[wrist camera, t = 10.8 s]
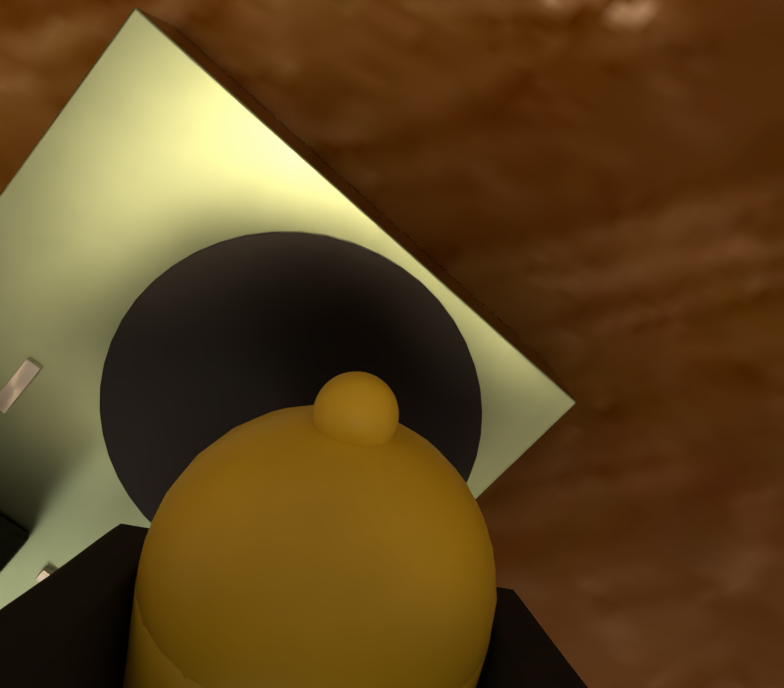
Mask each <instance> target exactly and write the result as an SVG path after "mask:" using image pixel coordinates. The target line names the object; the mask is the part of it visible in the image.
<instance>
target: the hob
mask: <svg viewBox="0 0 784 688" xmlns="http://www.w3.org/2000/svg"><path fill="white" fill-rule="evenodd" d="M270 231H302V232H309V233H316V234H324V235H329V236H333V237H336V238H340V239H343V240H347V241H351V242H354V243H356V244H359V245H361V246H363V247H366V248H368V249H371V250H373V251H375V252H378V253H379V254H381V255H383V256H385V257H386V258H388V259H390V260H391V261H393V262H395V263H397V264H398V265H400V266H401V267H403V268H404V269H405V270H407V271H408V272H409V273H410V274H412V275H413V276H414V277H416V278H417V279H418V280H419V281H421V282H422V283H423V284H424V285H425V286H426V287H427V288H428V289H429V290H430V291H431V292H432V293H433V294H434V295H435V296H436V297H437V298H438V299H439V301H440V302H441V303H442V305H443V306H444V307H445V309H446V310H447V311H448V313H449V314H450V315H451V317H452V318H453V319H454V321H455V323H456V325H457V326H458V328H459V330H460V332H461V334H462V335H463V337H464V339H465V341H466V343H467V346H468V348H469V351H470V354H471V356H472V359H473V361H474V364H475V367H476V372H477V376H478V380H479V385H480V390H481V401H482V427H481V437H480V442H479V447H478V452H477V457H476V460H475V463H474V465H473V468H472V471H471V474H470V477H469V479H468V481H467V483H466V484H467V486H468V488H469V489H470V491H471V493H472V495H473V497H474V498H475V500H476V499H477V498H478V497H479V496H480V495H481V494H482V493H483V492H484V491H485V490H486V489H487V488H488V487H489V486H490V485H491V484H492V483H493V482H494V481H495V480H496V479H497V478H499V477H500V476H501V475H502V474H503V473H504V472H505V471H506V470H507V469H508V468H509V467H510V466H511V465H512V464H513V463H514V462H515V461H516V460H517V459H518V458H519V457H520V456H521V455H523V454H524V453H525V452H526V451H527V450H528V449H529V448H530V447H531V446H532V445H533V444H534V443H535V442H536V441H537V440H538V439H539V438H540V437H541V436H542V435H543V434H544V433H545V432H547V431H548V430H549V429H550V428H551V427H552V426H553V425H554V424H555V423H556V422H557V421H558V420H559V419H560V418H561V417H562V416H563V415H564V414H565V413H566V412H567V411H568V410H569V409H571V408H572V407H573V406H574V405H575V404H576V401H575V399H574V398H573V396H572V395H571V394H570V392H569V391H568V390H567V388H566V387H565V385H564V384H563V383H562V381H561V380H560V379H559V377H558V376H557V374H556V373H555V372H554V370H553V369H552V368H551V366H550V365H549V364H547V363H546V362H545V361H544V360H543V359H542V358H541V357H540V356H539V355H537V354H536V353H535V352H534V351H533V350H532V349H531V348H530V347H529V346H527V345H526V344H525V343H524V342H523V341H522V340H521V339H520V338H519V337H517V336H516V335H515V334H514V333H513V332H512V331H511V330H510V329H509V328H507V327H506V326H505V325H504V324H503V323H502V322H501V321H500V320H499V319H498V318H496V317H495V316H494V315H493V314H492V313H491V312H490V311H489V310H488V309H486V308H485V307H484V306H483V305H482V304H481V303H480V302H479V301H478V300H476V299H475V298H474V297H473V296H472V295H471V294H470V293H469V292H468V291H466V290H465V289H464V288H463V287H462V286H461V285H460V284H459V283H458V282H456V281H455V280H454V279H453V278H452V277H451V276H450V275H449V274H448V273H447V272H445V271H444V270H443V269H442V268H441V267H440V266H439V265H438V264H437V263H435V262H434V261H433V260H432V259H431V258H430V257H429V256H428V255H427V254H425V253H424V252H423V251H422V250H421V249H420V248H419V247H418V246H417V245H415V244H414V243H413V242H412V241H411V240H410V239H409V238H408V237H407V236H405V235H404V234H403V233H402V232H401V231H400V230H399V229H398V228H397V227H395V226H394V225H393V224H392V223H391V222H390V221H389V220H388V219H387V218H386V217H384V216H383V215H382V214H381V213H380V212H379V211H378V210H377V209H376V208H374V207H373V206H372V205H371V204H370V203H369V202H368V201H367V200H366V199H364V198H363V197H362V196H361V195H360V194H359V193H358V192H357V191H356V190H354V189H353V188H352V187H351V186H350V185H349V184H348V183H347V182H346V181H344V180H343V179H342V178H341V177H340V176H339V175H338V174H337V173H336V172H335V171H333V170H332V169H331V168H330V167H329V166H328V165H327V164H326V163H325V162H323V161H322V160H321V159H320V158H319V157H318V156H317V155H316V154H315V153H313V152H312V151H311V150H310V149H309V148H308V147H307V146H306V145H305V144H303V143H302V142H301V141H300V140H299V139H298V138H297V137H296V136H295V135H293V134H292V133H291V132H290V131H289V130H288V129H287V128H286V127H285V126H284V125H282V124H281V123H280V122H279V121H278V120H277V119H276V118H275V117H274V116H272V115H271V114H270V113H269V112H268V111H267V110H266V109H265V108H264V107H262V106H261V105H260V104H259V103H258V102H257V101H256V100H255V99H254V98H252V97H251V96H250V95H249V94H248V93H247V92H246V91H245V90H244V89H242V88H241V87H240V86H239V85H238V84H237V83H236V82H235V81H234V80H233V79H231V78H230V77H229V76H228V75H227V74H226V73H225V72H224V71H223V70H221V69H220V68H219V67H218V66H217V65H216V64H215V63H214V62H213V61H211V60H210V59H209V58H208V57H207V56H206V55H205V54H204V53H203V52H201V51H200V50H199V49H198V48H197V47H196V46H195V45H194V44H193V43H191V42H190V41H189V40H188V39H187V38H186V37H185V36H184V35H183V34H182V33H180V32H179V31H178V30H177V29H176V28H175V27H174V26H172V25H170V24H168V23H166V22H164V21H162V20H160V19H158V18H156V17H154V16H152V15H150V14H148V13H146V12H144V11H142V10H140V9H138V8H135V9H134V10H133V11H132V12H131V14H130V15H129V17H128V18H127V19H126V21H125V22H124V23H123V25H122V26H121V28H120V29H119V30H118V32H117V33H116V35H115V36H114V37H113V39H112V40H111V42H110V43H109V44H108V46H107V47H106V49H105V50H104V51H103V53H102V54H101V55H100V57H99V58H98V60H97V61H96V62H95V64H94V65H93V67H92V68H91V69H90V71H89V72H88V74H87V75H86V76H85V78H84V79H83V80H82V82H81V83H80V85H79V86H78V87H77V89H76V90H75V92H74V93H73V94H72V96H71V97H70V99H69V100H68V101H67V103H66V104H65V106H64V107H63V108H62V110H61V111H60V112H59V114H58V115H57V117H56V118H55V119H54V121H53V122H52V124H51V125H50V126H49V128H48V129H47V131H46V132H45V133H44V135H43V136H42V138H41V139H40V140H39V142H38V143H37V144H36V146H35V147H34V149H33V150H32V151H31V153H30V154H29V156H28V157H27V158H26V160H25V161H24V163H23V164H22V165H21V167H20V168H19V169H18V171H17V172H16V174H15V175H14V176H13V178H12V179H11V181H10V182H9V183H8V185H7V186H6V188H5V189H4V190H3V192H2V193H1V195H0V515H1V516H2V517H4V518H5V519H7V520H8V521H10V522H11V523H13V524H14V525H16V526H17V527H19V528H20V529H22V530H23V531H25V532H26V533H28V534H29V540H28V541H27V542H26V543H25V545H24V546H23V547H22V548H21V549H20V550H19V552H18V553H17V554H16V555H15V556H14V558H13V559H12V560H11V561H10V562H9V563H8V565H7V566H6V567H5V568H4V569H3V570H2V572H1V573H0V609H1V608H3V607H4V606H6V605H7V604H9V603H10V602H12V601H13V600H14V599H16V598H17V597H19V596H20V595H22V594H23V593H25V592H26V591H27V590H29V589H30V588H32V587H33V586H35V585H36V584H38V583H39V582H40V581H42V580H43V579H45V578H46V577H47V576H49V575H50V574H52V573H53V572H54V571H56V570H57V569H58V568H60V567H61V566H63V565H64V564H65V563H67V562H68V561H69V560H71V559H72V558H74V557H75V556H76V555H78V554H79V553H80V552H82V551H83V550H84V549H86V548H87V547H88V546H90V545H91V544H92V543H94V542H95V541H96V540H98V539H99V538H100V537H102V536H103V535H105V534H106V533H107V532H109V531H110V530H111V529H113V528H115V527H116V526H118V525H119V524H121V523H122V524H128V525H133V526H139V527H145V528H150V525H151V523H150V522H149V521H148V520H147V519H146V518H145V517H144V515H143V514H142V513H141V512H140V510H139V509H138V508H137V506H136V505H135V504H134V503H133V501H132V500H131V499H130V497H129V496H128V494H127V492H126V491H125V489H124V487H123V486H122V484H121V482H120V481H119V479H118V477H117V475H116V472H115V470H114V468H113V465H112V463H111V461H110V458H109V456H108V452H107V448H106V445H105V441H104V437H103V434H102V426H101V418H100V384H101V378H102V372H103V366H104V362H105V359H106V355H107V352H108V349H109V346H110V343H111V340H112V338H113V336H114V334H115V332H116V330H117V328H118V326H119V324H120V322H121V320H122V319H123V317H124V316H125V314H126V313H127V311H128V310H129V308H130V307H131V306H132V304H133V303H134V301H135V300H136V299H137V298H138V297H139V296H140V294H141V293H142V292H143V291H144V290H145V289H146V288H147V287H148V286H149V285H150V284H151V283H152V282H153V281H154V280H155V279H156V278H158V277H159V276H160V275H161V274H163V273H164V272H165V271H166V270H168V269H169V268H170V267H171V266H173V265H174V264H176V263H177V262H179V261H181V260H183V259H184V258H186V257H188V256H189V255H191V254H193V253H194V252H196V251H198V250H201V249H203V248H206V247H208V246H210V245H213V244H215V243H218V242H220V241H223V240H227V239H231V238H235V237H238V236H242V235H246V234H253V233H261V232H270Z"/></svg>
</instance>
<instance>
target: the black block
mask: <svg viewBox="0 0 784 688" xmlns="http://www.w3.org/2000/svg"><path fill="white" fill-rule="evenodd" d="M28 540H29V534H28V533H26V532H25V531H23V530H22V529H20V528H19V527H17V526H16V525H14V524H13V523H11V522H10V521H8V520H7V519H5V518H4V517H2V516H1V515H0V573H1V572H2V570H3V569H4V568H5V567H6V566H7V565H8V563H9V562H10V561H11V560H12V559H13V558H14V556H15V555H16V554H17V553H18V552H19V550H20V549H21V548H22V547H23V546H24V545H25V543H26V542H27V541H28Z"/></svg>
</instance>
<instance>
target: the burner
mask: <svg viewBox="0 0 784 688" xmlns="http://www.w3.org/2000/svg"><path fill="white" fill-rule="evenodd" d="M353 371H359V372H366V373H369V374H372V375H374V376H376V377H378V378H380V379H381V380H382V381H384V382H385V383H386V384H387V385H388V386H389V388H390V389H391V390H392V392H393V393H394V395H395V398H396V400H397V404H398V408H399V420H398V423H400V424H402V425H403V426H405V427H407V428H409V429H410V430H412V431H414V432H416V433H417V434H419V435H420V436H422V437H423V438H425V439H426V440H427V441H429V442H430V443H431V444H432V445H433V446H434V447H435V448H436V449H438V450H439V452H440V453H441V454H442V455H443V456H444V457H445V458H446V459H447V460H448V461H449V462H450V463H451V464H452V465H453V466H454V468H455V469H456V470H457V471H458V473H459V474H460V475H461V477H462V478H463V479H464V481H465V482H466V483H467V481H468V479H469V477H470V474H471V471H472V468H473V465H474V463H475V460H476V457H477V452H478V447H479V442H480V437H481V427H482V401H481V390H480V385H479V380H478V376H477V372H476V367H475V364H474V361H473V359H472V356H471V354H470V351H469V348H468V346H467V343H466V341H465V339H464V337H463V335H462V334H461V332H460V330H459V328H458V326H457V325H456V323H455V321H454V319H453V318H452V317H451V315H450V314H449V313H448V311H447V310H446V309H445V307H444V306H443V305H442V303H441V302H440V301H439V299H438V298H437V297H436V296H435V295H434V294H433V293H432V292H431V291H430V290H429V289H428V288H427V287H426V286H425V285H424V284H423V283H422V282H421V281H419V280H418V279H417V278H416V277H414V276H413V275H412V274H410V273H409V272H408V271H407V270H405V269H404V268H403V267H401V266H400V265H398V264H397V263H395V262H393V261H391V260H390V259H388V258H386V257H385V256H383V255H381V254H379V253H378V252H375V251H373V250H371V249H368V248H366V247H363V246H361V245H359V244H356V243H354V242H351V241H347V240H343V239H340V238H336V237H333V236H329V235H324V234H316V233H309V232H302V231H270V232H261V233H253V234H246V235H242V236H238V237H235V238H231V239H227V240H223V241H220V242H218V243H215V244H213V245H210V246H208V247H206V248H203V249H201V250H198V251H196V252H194V253H193V254H191V255H189V256H188V257H186V258H184V259H183V260H181V261H179V262H177V263H176V264H174V265H173V266H171V267H170V268H169V269H168V270H166V271H165V272H164V273H163V274H161V275H160V276H159V277H158V278H156V279H155V280H154V281H153V282H152V283H151V284H150V285H149V286H148V287H147V288H146V289H145V290H144V291H143V292H142V293H141V294H140V296H139V297H138V298H137V299H136V300H135V301H134V303H133V304H132V306H131V307H130V308H129V310H128V311H127V313H126V314H125V316H124V317H123V319H122V320H121V322H120V324H119V326H118V328H117V330H116V332H115V334H114V336H113V338H112V340H111V343H110V346H109V349H108V352H107V355H106V359H105V362H104V366H103V372H102V378H101V384H100V418H101V426H102V434H103V437H104V441H105V445H106V448H107V452H108V456H109V458H110V461H111V463H112V465H113V468H114V470H115V472H116V475H117V477H118V479H119V481H120V482H121V484H122V486H123V487H124V489H125V491H126V492H127V494H128V496H129V497H130V499H131V500H132V501H133V503H134V504H135V505H136V506H137V508H138V509H139V510H140V512H141V513H142V514H143V515H144V517H145V518H146V519H147V520H148V521H149V522H150V523H151V522H152V520H153V518H154V516H155V514H156V512H157V510H158V508H159V506H160V504H161V502H162V500H163V498H164V496H165V494H166V493H167V491H168V490H169V489H170V488H171V486H172V485H173V484H174V483H175V481H176V480H177V479H178V478H179V476H180V475H181V474H182V473H183V472H184V470H185V469H186V468H187V467H188V466H189V464H190V463H191V462H192V461H193V460H194V459H195V457H196V456H197V455H198V454H199V453H201V452H202V451H203V450H205V449H206V448H207V447H209V446H210V445H211V444H213V443H214V442H215V441H217V440H218V439H219V438H221V437H222V436H223V435H225V434H226V433H227V432H229V431H230V430H232V429H233V428H235V427H237V426H239V425H241V424H244V423H246V422H248V421H251V420H253V419H255V418H258V417H260V416H262V415H265V414H267V413H270V412H272V411H276V410H280V409H284V408H290V407H298V406H308V405H314V403H315V400H316V398H317V395H318V393H319V392H320V390H321V389H322V388H323V386H324V385H325V384H326V383H327V382H328V381H330V380H331V379H332V378H334V377H336V376H338V375H340V374H343V373H347V372H353Z"/></svg>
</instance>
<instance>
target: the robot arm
mask: <svg viewBox="0 0 784 688" xmlns="http://www.w3.org/2000/svg"><path fill="white" fill-rule="evenodd" d="M148 530H149V528H145V527H139V526H133V525H128V524H122V523H121V524H119V525H118V526H116V527H115V528H113V529H111V530H110V531H109V532H107V533H106V534H105V535H103V536H102V537H100V538H99V539H98V540H96V541H95V542H94V543H92V544H91V545H90V546H88V547H87V548H86V549H84V550H83V551H82V552H80V553H79V554H78V555H76V556H75V557H74V558H72V559H71V560H69V561H68V562H67V563H65V564H64V565H63V566H61V567H60V568H58V569H57V570H56V571H54V572H53V573H52V574H50V575H49V576H47V577H46V578H45V579H43V580H42V581H40V582H39V583H38V584H36V585H35V586H33V587H32V588H30V589H29V590H27V591H26V592H25V593H23V594H22V595H20V596H19V597H17V598H16V599H14V600H13V601H12V602H10V603H9V604H7V605H6V606H4V607H3V608H1V609H0V688H123V681H124V673H125V665H126V656H127V648H128V639H129V631H130V623H131V614H132V606H133V597H134V589H135V581H136V575H137V569H138V565H139V561H140V557H141V553H142V549H143V545H144V541H145V538H146V535H147V533H148ZM496 593H497V602H496V608H495V613H494V618H493V624H492V629H491V638H490V642H489V646H488V650H487V654H486V657H485V660H484V663H483V667H482V670H481V673H480V676H479V679H478V683H477V686H476V688H588V687H587V686H586V685H585V684H584V682H583V681H582V680H581V679H580V677H579V676H578V675H577V673H576V672H575V671H574V670H573V668H572V667H571V666H570V664H569V663H568V662H567V660H566V659H565V658H564V656H563V655H562V654H561V652H560V651H559V650H558V648H557V647H556V646H555V645H554V643H553V642H552V641H551V639H550V638H549V637H548V635H547V634H546V633H545V631H544V630H543V629H542V627H541V626H540V624H539V623H538V622H537V620H536V619H535V618H534V616H533V615H532V614H531V612H530V611H529V610H528V608H527V607H526V606H525V604H524V603H523V602H522V601H521V599H520V598H519V597H518V595H517V594H516V593H515V592H514V591H513V590H511V589H505V588H499V587H496Z"/></svg>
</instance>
